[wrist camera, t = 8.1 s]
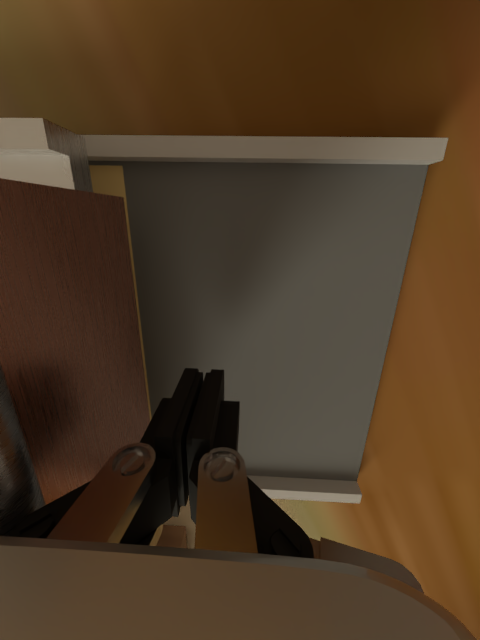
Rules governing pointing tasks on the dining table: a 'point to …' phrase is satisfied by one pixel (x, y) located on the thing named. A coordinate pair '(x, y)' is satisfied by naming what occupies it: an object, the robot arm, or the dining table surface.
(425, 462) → the dining table surface
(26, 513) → the grey l-shaped piece
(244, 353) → the grey flat rectangular piece
